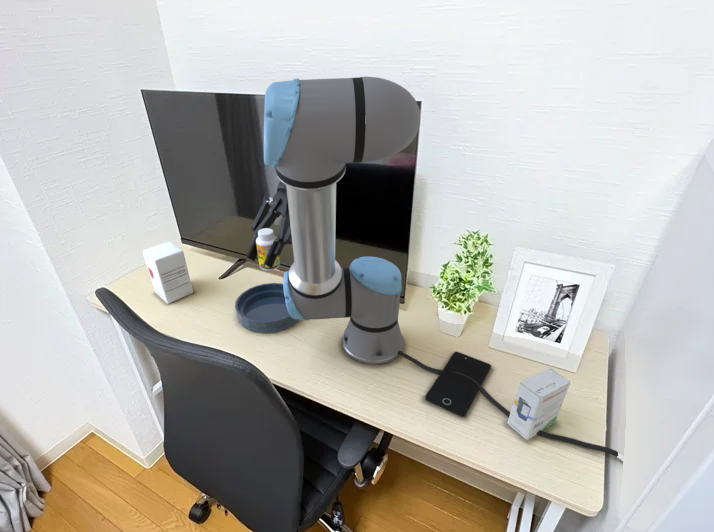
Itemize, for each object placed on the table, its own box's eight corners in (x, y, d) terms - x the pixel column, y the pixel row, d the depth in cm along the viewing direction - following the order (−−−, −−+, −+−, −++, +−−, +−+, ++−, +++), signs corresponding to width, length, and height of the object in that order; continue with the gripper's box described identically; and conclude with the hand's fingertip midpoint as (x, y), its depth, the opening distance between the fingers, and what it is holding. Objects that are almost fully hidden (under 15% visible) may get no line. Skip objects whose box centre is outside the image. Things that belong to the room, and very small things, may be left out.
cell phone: (424, 399, 90) (424, 396, 90) (454, 353, 102) (455, 350, 101) (464, 418, 86) (464, 415, 85) (491, 367, 98) (492, 364, 97)
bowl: (317, 308, 120) (317, 296, 118) (272, 343, 108) (270, 331, 105) (269, 287, 130) (268, 276, 128) (223, 317, 118) (220, 305, 115)
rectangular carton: (154, 292, 129) (140, 250, 121) (180, 282, 134) (169, 240, 126) (167, 304, 124) (154, 260, 115) (194, 293, 129) (183, 250, 120)
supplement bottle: (257, 263, 112) (252, 228, 106) (277, 259, 113) (273, 225, 108) (261, 273, 108) (256, 237, 102) (282, 269, 109) (278, 233, 103)
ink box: (526, 441, 81) (543, 400, 74) (505, 422, 85) (519, 381, 78) (555, 423, 84) (574, 382, 77) (534, 406, 88) (549, 365, 81)
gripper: (330, 195, 106) (293, 277, 105) (277, 182, 116) (242, 257, 115) (317, 180, 100) (277, 268, 99) (261, 168, 109) (225, 248, 108)
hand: (258, 262), depth 107 cm, fingers closed on supplement bottle, 6 cm apart
